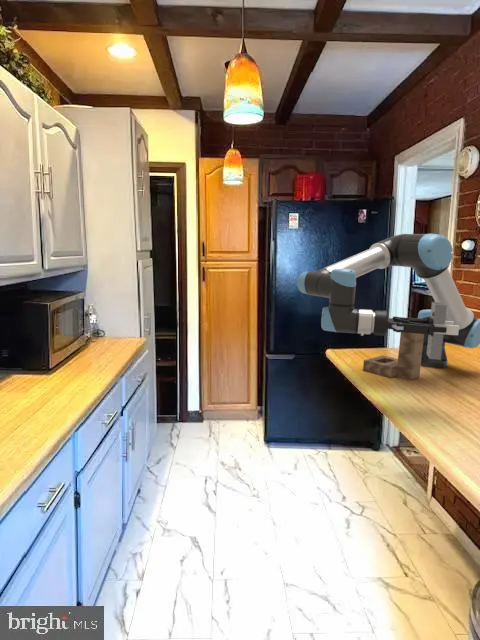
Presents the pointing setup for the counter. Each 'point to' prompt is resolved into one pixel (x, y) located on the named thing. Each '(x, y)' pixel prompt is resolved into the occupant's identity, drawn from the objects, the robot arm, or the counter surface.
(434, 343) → the grey metal block
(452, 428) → the counter surface
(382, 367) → the wooden post with frame
